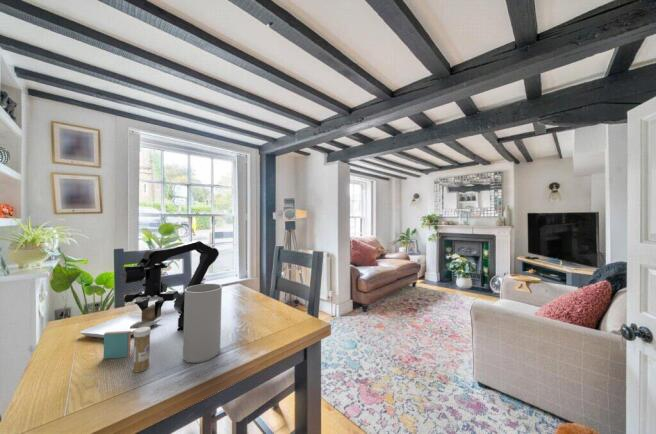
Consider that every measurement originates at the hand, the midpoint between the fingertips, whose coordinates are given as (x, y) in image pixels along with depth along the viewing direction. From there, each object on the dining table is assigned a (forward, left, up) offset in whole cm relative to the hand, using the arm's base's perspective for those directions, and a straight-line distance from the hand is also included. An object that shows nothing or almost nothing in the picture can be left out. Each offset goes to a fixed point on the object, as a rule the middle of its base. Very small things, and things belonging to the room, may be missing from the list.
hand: (151, 316), depth 104 cm
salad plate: (+17, -11, -10) cm, 23 cm away
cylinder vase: (-25, +15, -10) cm, 31 cm away
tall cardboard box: (0, +3, -1) cm, 3 cm away
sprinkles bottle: (-8, +22, -10) cm, 25 cm away
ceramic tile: (+5, +13, -10) cm, 17 cm away
